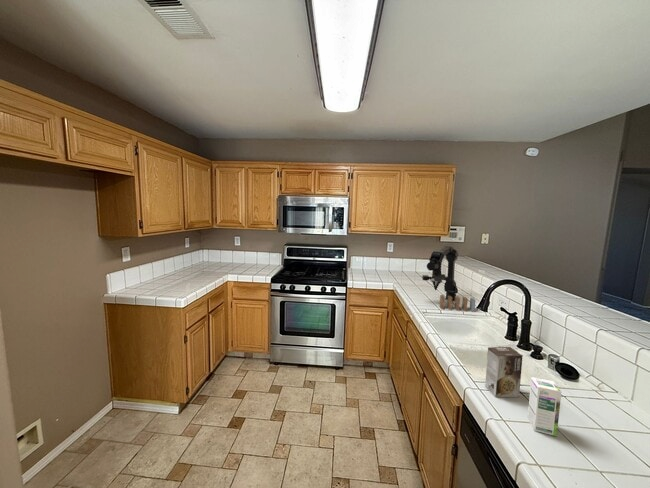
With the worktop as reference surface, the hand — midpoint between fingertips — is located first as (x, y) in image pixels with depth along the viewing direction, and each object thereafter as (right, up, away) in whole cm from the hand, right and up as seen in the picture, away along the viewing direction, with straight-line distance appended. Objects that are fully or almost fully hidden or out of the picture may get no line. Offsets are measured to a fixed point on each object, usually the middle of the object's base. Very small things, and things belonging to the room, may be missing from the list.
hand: (435, 290), depth 189 cm
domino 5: (+24, -14, -4) cm, 28 cm away
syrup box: (-12, -24, -108) cm, 111 cm away
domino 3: (+14, -14, -2) cm, 20 cm away
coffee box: (-14, -22, -91) cm, 95 cm away
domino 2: (+10, -13, -1) cm, 16 cm away
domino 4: (+19, -14, -3) cm, 24 cm away
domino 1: (+5, -13, 0) cm, 14 cm away
